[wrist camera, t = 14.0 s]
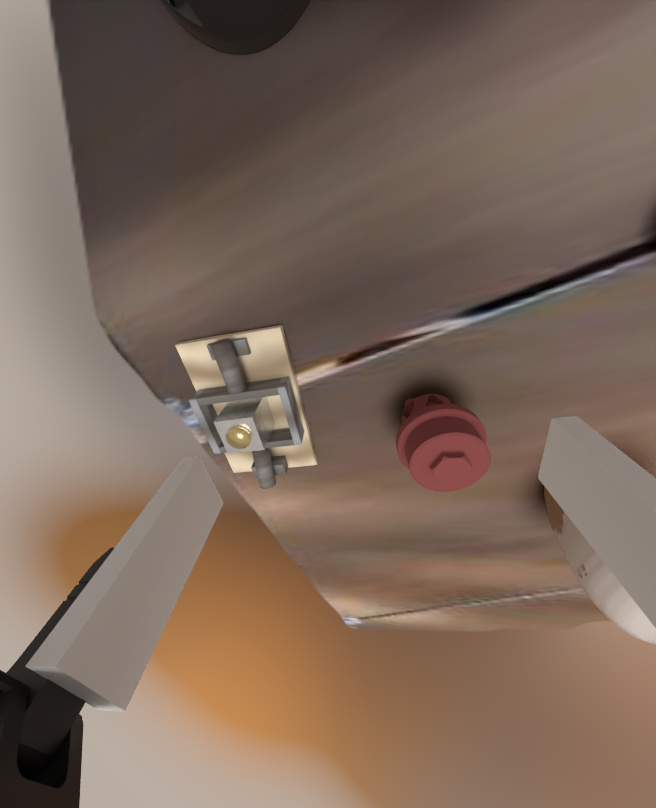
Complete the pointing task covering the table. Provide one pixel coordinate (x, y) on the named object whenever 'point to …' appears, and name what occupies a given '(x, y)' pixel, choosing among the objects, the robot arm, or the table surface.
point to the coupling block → (245, 425)
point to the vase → (597, 576)
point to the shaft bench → (251, 396)
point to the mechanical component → (442, 443)
